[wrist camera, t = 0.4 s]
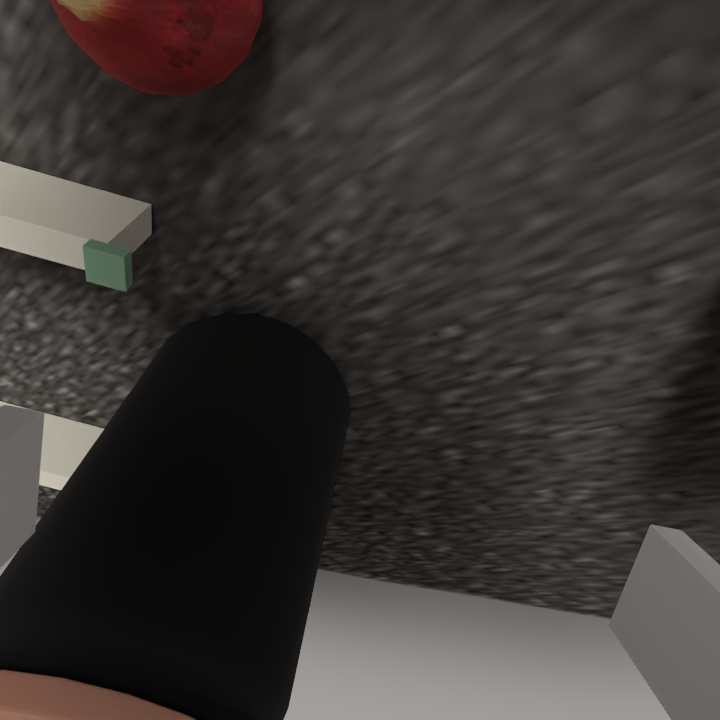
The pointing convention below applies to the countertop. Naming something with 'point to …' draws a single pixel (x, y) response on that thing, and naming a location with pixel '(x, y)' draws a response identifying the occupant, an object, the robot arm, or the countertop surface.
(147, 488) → the coffee jar
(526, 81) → the countertop surface
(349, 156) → the countertop surface
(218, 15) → the onion
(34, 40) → the countertop surface
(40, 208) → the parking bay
